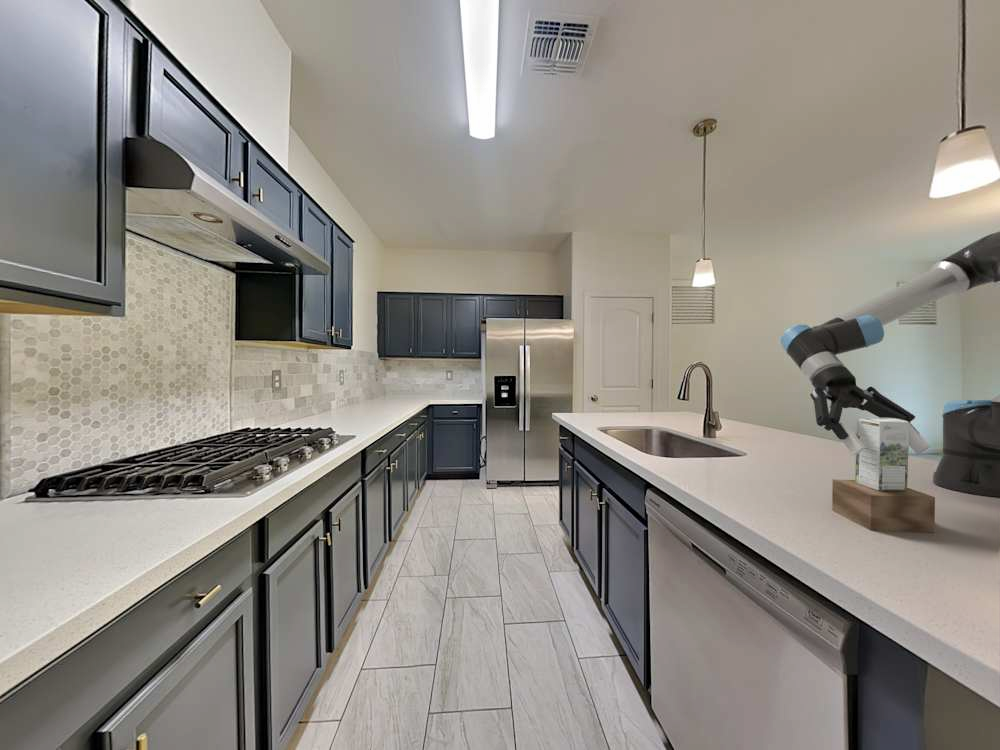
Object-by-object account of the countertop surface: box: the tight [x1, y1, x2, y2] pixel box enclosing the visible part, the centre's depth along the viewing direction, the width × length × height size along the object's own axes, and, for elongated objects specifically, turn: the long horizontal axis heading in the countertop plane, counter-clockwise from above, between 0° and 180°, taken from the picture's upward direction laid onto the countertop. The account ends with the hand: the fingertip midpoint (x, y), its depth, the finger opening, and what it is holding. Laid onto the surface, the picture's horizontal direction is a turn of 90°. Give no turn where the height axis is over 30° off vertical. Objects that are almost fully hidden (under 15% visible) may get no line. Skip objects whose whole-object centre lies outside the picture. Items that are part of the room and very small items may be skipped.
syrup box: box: [854, 417, 910, 491], centre depth 83 cm, size 6×6×14 cm
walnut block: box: [831, 479, 936, 534], centre depth 83 cm, size 11×11×7 cm
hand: (891, 451), depth 80 cm, fingers open, 13 cm apart
